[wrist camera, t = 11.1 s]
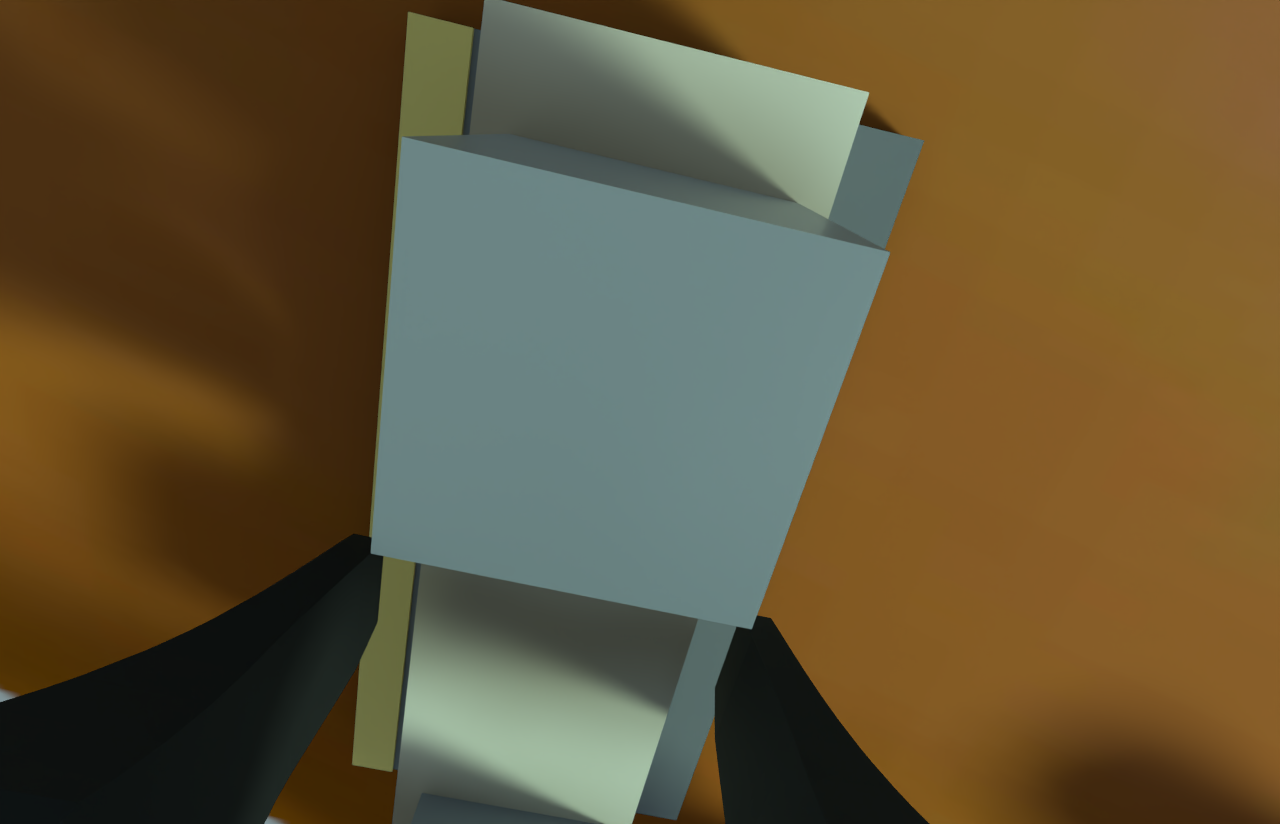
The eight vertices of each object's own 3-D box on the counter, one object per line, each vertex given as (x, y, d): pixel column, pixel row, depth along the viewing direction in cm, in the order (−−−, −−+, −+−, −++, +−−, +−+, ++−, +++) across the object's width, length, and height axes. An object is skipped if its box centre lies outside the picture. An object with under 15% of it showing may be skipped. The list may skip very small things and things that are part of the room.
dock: (675, 790, 22) (676, 823, 21) (367, 734, 21) (352, 764, 20) (906, 139, 14) (925, 140, 13) (427, 20, 13) (408, 11, 12)
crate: (720, 456, 11) (751, 629, 7) (473, 403, 10) (370, 553, 7) (796, 202, 9) (889, 251, 5) (509, 134, 9) (401, 136, 5)
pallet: (598, 804, 20) (582, 975, 16) (436, 775, 20) (378, 942, 16) (801, 105, 13) (869, 92, 9) (543, 40, 12) (485, -4, 8)
